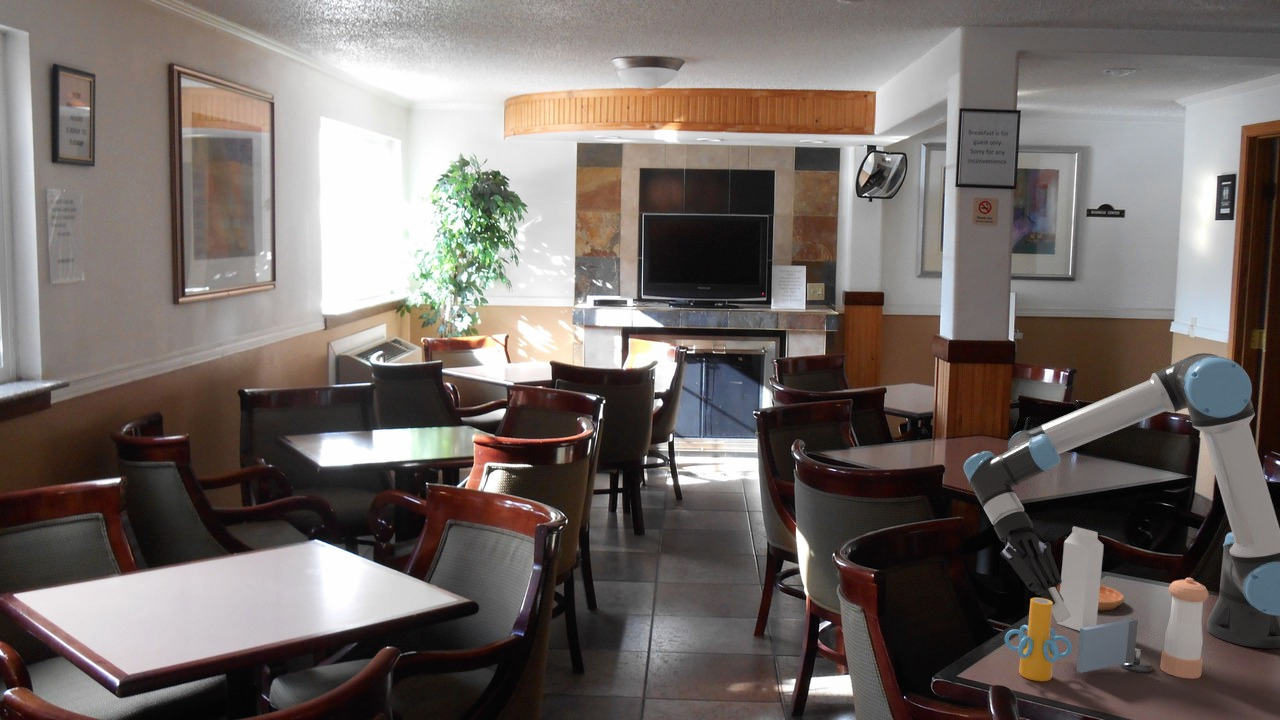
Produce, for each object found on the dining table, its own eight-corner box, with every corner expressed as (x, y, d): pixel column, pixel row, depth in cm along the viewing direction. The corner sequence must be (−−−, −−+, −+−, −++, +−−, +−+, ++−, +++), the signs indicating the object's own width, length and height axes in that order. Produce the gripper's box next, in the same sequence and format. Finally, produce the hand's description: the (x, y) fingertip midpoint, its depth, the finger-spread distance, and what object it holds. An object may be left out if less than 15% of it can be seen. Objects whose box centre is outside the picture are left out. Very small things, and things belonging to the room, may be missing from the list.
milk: (1081, 632, 231) (1090, 534, 229) (1056, 623, 236) (1064, 527, 234) (1096, 627, 235) (1105, 530, 233) (1071, 618, 240) (1080, 524, 237)
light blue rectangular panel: (1128, 659, 212) (1132, 618, 211) (1133, 661, 211) (1137, 620, 210) (1076, 670, 205) (1079, 627, 204) (1081, 672, 204) (1085, 630, 203)
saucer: (1122, 598, 257) (1123, 586, 257) (1123, 618, 243) (1124, 605, 242) (1052, 587, 264) (1053, 576, 263) (1048, 606, 249) (1049, 593, 249)
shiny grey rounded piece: (1132, 659, 216) (1134, 642, 216) (1158, 670, 211) (1160, 652, 211) (1112, 663, 214) (1114, 646, 213) (1138, 674, 208) (1140, 657, 208)
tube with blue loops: (1067, 671, 208) (1074, 597, 207) (1070, 691, 199) (1077, 614, 197) (1002, 661, 212) (1008, 588, 211) (1001, 680, 202) (1008, 604, 201)
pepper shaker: (1185, 681, 206) (1194, 585, 204) (1152, 667, 213) (1161, 574, 211) (1209, 675, 209) (1218, 581, 208) (1175, 662, 216) (1184, 571, 214)
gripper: (1020, 525, 234) (1074, 623, 221) (976, 529, 228) (1029, 631, 215) (1041, 507, 228) (1098, 607, 215) (997, 511, 222) (1053, 614, 209)
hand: (1064, 619), depth 215 cm, fingers closed
